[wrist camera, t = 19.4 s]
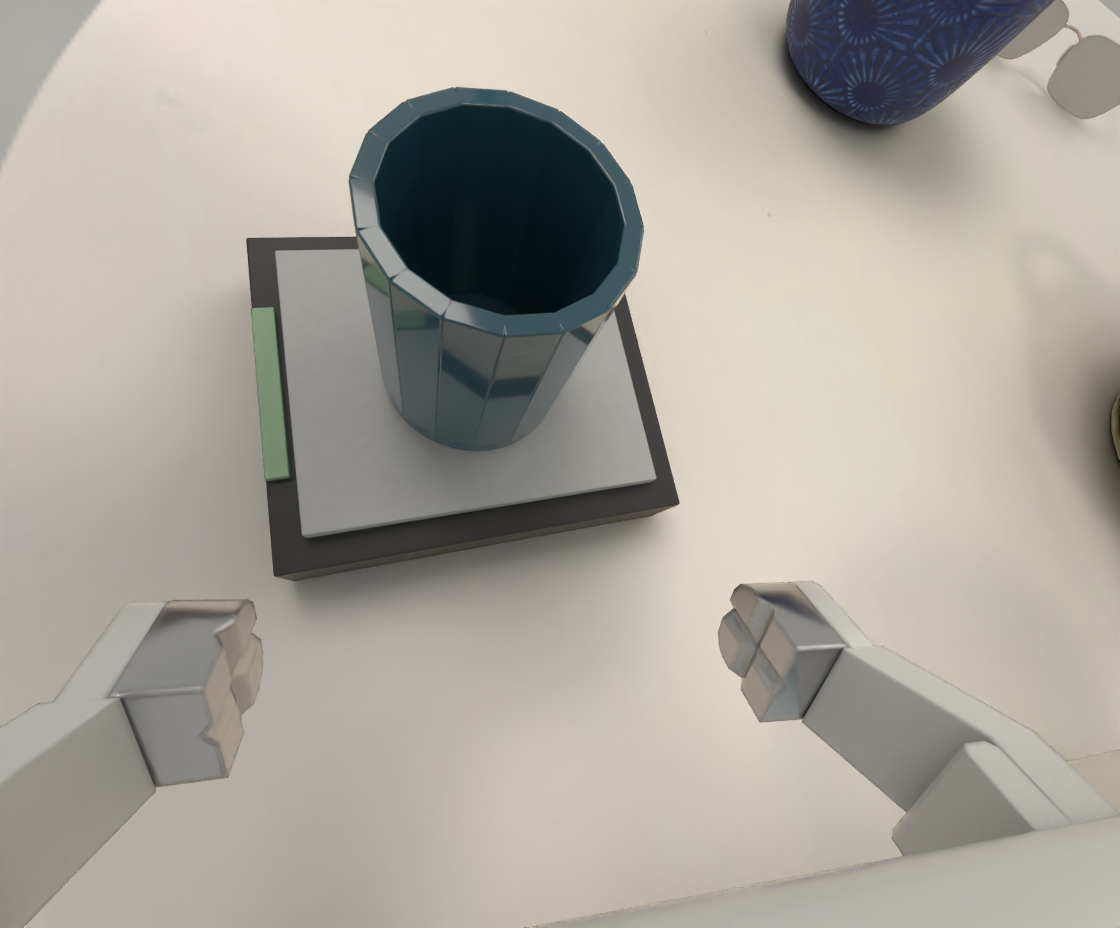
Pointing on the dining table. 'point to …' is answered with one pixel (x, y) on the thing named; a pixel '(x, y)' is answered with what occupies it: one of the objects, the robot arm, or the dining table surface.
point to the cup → (488, 258)
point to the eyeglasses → (1074, 64)
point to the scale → (409, 457)
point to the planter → (898, 50)
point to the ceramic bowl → (1116, 424)
